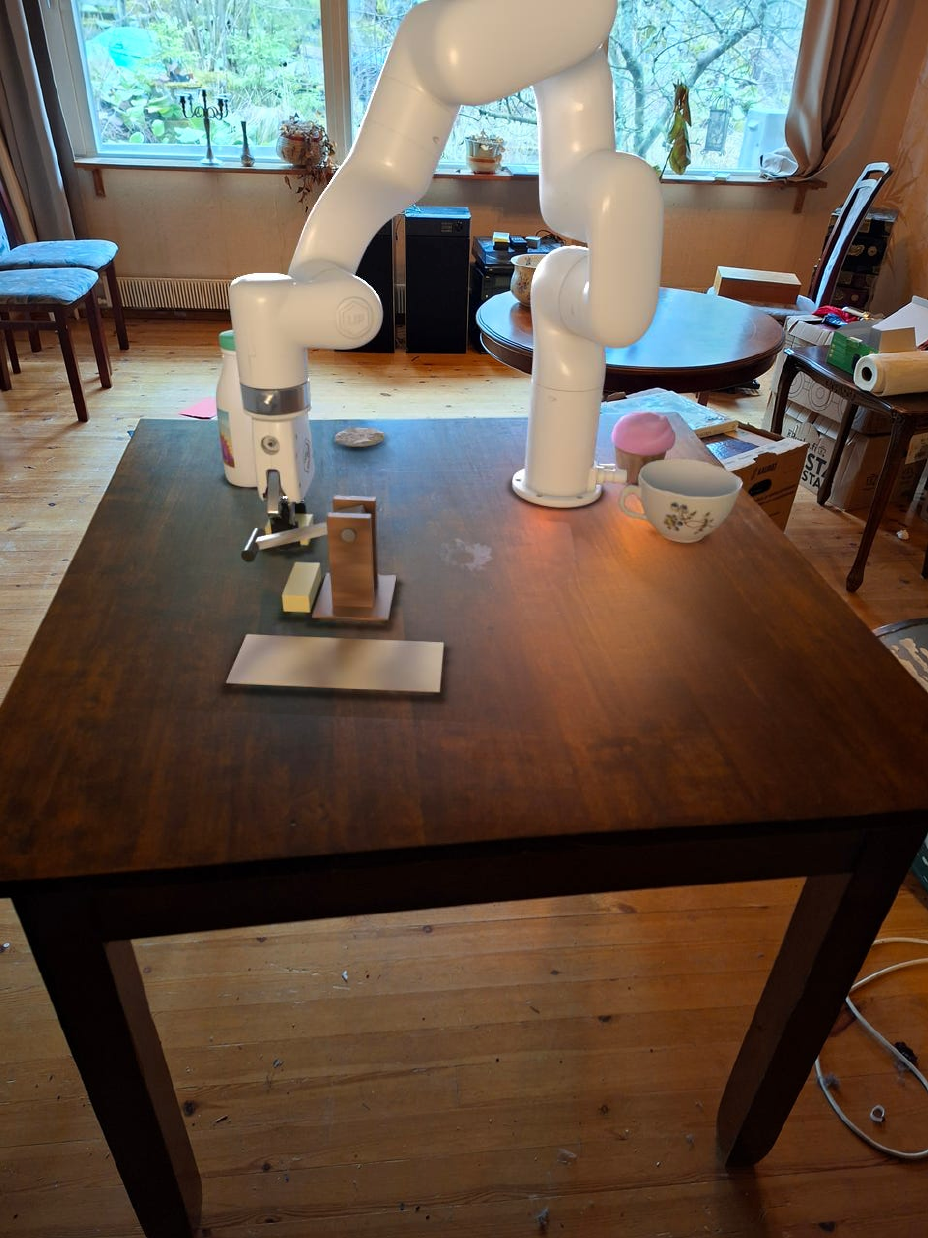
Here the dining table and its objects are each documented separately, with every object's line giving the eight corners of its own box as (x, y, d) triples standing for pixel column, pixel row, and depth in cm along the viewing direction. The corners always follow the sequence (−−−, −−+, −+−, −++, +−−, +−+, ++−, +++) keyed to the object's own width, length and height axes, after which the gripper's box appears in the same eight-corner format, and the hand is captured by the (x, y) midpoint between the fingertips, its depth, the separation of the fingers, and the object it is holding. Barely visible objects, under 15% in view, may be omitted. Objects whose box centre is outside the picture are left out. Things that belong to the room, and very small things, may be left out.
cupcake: (679, 485, 120) (691, 418, 114) (629, 495, 117) (640, 427, 111) (642, 462, 127) (652, 398, 121) (594, 471, 123) (602, 405, 118)
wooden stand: (312, 625, 87) (304, 525, 81) (326, 581, 95) (320, 486, 88) (388, 628, 87) (386, 528, 81) (396, 584, 95) (395, 489, 88)
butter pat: (314, 535, 104) (312, 513, 102) (308, 551, 100) (306, 528, 99) (274, 533, 104) (272, 512, 102) (267, 549, 100) (264, 527, 99)
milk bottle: (288, 468, 121) (274, 327, 110) (272, 490, 114) (257, 343, 103) (236, 464, 121) (217, 323, 110) (218, 486, 115) (196, 339, 104)
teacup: (709, 510, 113) (721, 455, 109) (744, 555, 103) (759, 496, 99) (601, 512, 112) (609, 456, 107) (626, 558, 102) (636, 498, 97)
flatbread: (364, 427, 135) (364, 421, 134) (394, 440, 130) (394, 434, 130) (323, 439, 130) (323, 433, 129) (354, 454, 126) (353, 447, 125)
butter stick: (321, 585, 94) (320, 562, 92) (310, 619, 88) (308, 596, 87) (297, 584, 94) (295, 561, 92) (284, 618, 88) (281, 594, 87)
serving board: (443, 650, 84) (444, 642, 84) (439, 700, 78) (439, 691, 77) (247, 642, 85) (246, 634, 84) (226, 691, 78) (225, 682, 77)
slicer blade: (246, 567, 86) (236, 547, 85) (257, 544, 90) (248, 525, 89) (365, 540, 84) (358, 520, 83) (371, 518, 88) (364, 498, 87)
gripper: (294, 423, 85) (309, 577, 95) (322, 373, 99) (332, 512, 109) (221, 421, 85) (243, 575, 95) (260, 371, 99) (275, 510, 109)
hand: (291, 540), depth 102 cm, fingers closed on butter pat, 4 cm apart
